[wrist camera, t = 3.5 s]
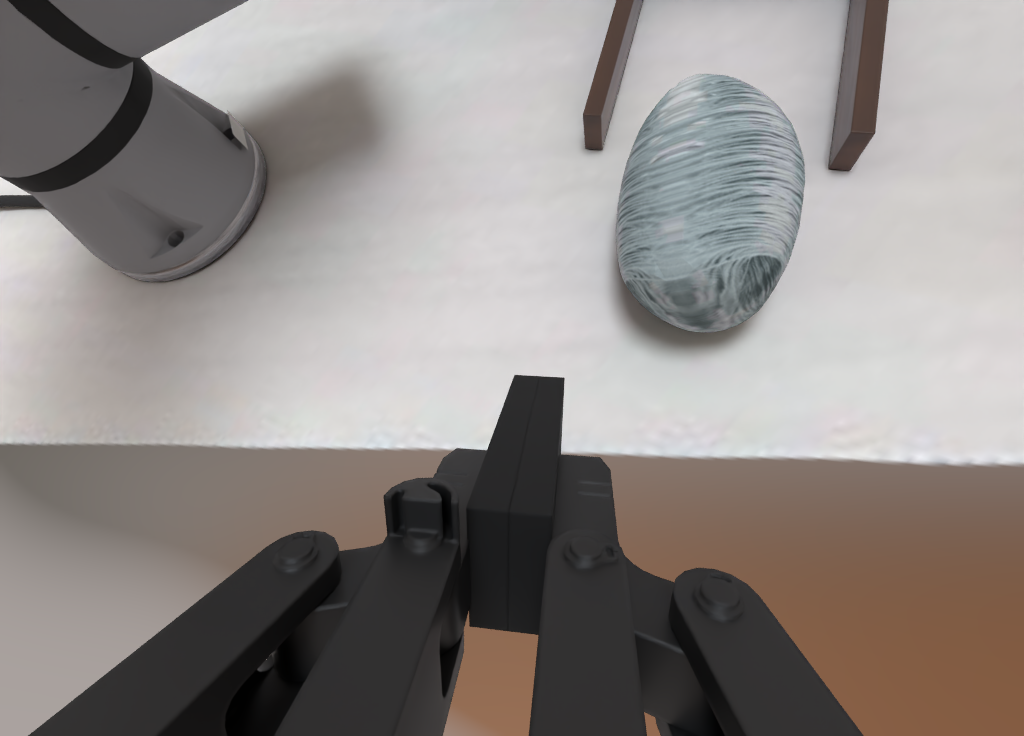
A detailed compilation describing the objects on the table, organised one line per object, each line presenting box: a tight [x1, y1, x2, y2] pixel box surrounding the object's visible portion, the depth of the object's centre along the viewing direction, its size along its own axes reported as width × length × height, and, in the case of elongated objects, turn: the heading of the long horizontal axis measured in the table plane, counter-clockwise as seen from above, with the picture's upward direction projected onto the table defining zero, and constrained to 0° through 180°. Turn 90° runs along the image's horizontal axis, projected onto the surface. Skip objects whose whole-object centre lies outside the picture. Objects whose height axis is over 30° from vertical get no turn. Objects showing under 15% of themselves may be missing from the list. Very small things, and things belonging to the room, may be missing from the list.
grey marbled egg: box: [616, 74, 805, 332], centre depth 26 cm, size 14×10×10 cm
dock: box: [583, 0, 889, 170], centre depth 32 cm, size 16×16×3 cm
